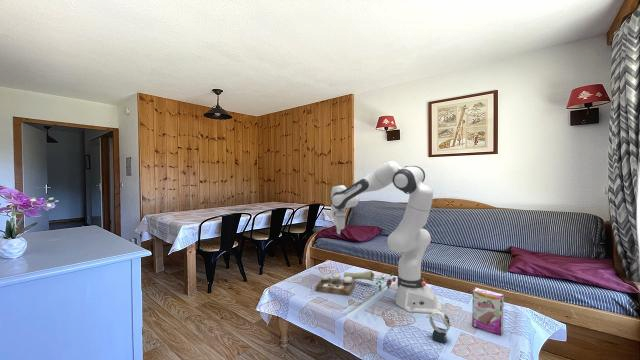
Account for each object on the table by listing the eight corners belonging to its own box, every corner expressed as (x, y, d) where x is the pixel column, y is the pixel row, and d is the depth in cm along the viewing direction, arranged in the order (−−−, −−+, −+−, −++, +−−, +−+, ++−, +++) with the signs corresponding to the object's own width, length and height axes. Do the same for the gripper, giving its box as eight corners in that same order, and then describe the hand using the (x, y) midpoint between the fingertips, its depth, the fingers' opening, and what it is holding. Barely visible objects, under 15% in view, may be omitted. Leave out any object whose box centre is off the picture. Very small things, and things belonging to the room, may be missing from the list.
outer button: (330, 277, 173) (330, 274, 173) (328, 280, 168) (328, 277, 168) (322, 276, 174) (322, 273, 174) (320, 279, 170) (320, 276, 170)
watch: (449, 345, 112) (449, 318, 112) (428, 339, 117) (428, 312, 116) (451, 338, 117) (451, 312, 116) (431, 332, 121) (431, 307, 121)
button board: (354, 286, 170) (354, 280, 170) (349, 295, 157) (349, 289, 157) (323, 282, 177) (323, 276, 177) (315, 291, 164) (315, 285, 164)
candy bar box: (471, 326, 125) (472, 290, 124) (474, 322, 129) (474, 286, 128) (501, 336, 118) (501, 297, 117) (503, 331, 121) (504, 293, 121)
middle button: (341, 276, 170) (341, 273, 170) (339, 279, 166) (339, 276, 166) (333, 275, 172) (333, 272, 172) (331, 278, 167) (331, 275, 167)
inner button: (352, 280, 168) (352, 276, 168) (351, 283, 163) (351, 279, 163) (344, 279, 170) (344, 275, 170) (342, 282, 165) (342, 278, 165)
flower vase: (351, 290, 182) (403, 291, 161) (340, 290, 173) (393, 292, 152) (350, 271, 186) (401, 270, 165) (340, 270, 177) (391, 269, 156)
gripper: (331, 209, 183) (331, 230, 184) (336, 213, 163) (336, 237, 163) (340, 208, 184) (340, 229, 184) (346, 213, 163) (346, 237, 164)
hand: (338, 233), depth 174 cm, fingers closed
